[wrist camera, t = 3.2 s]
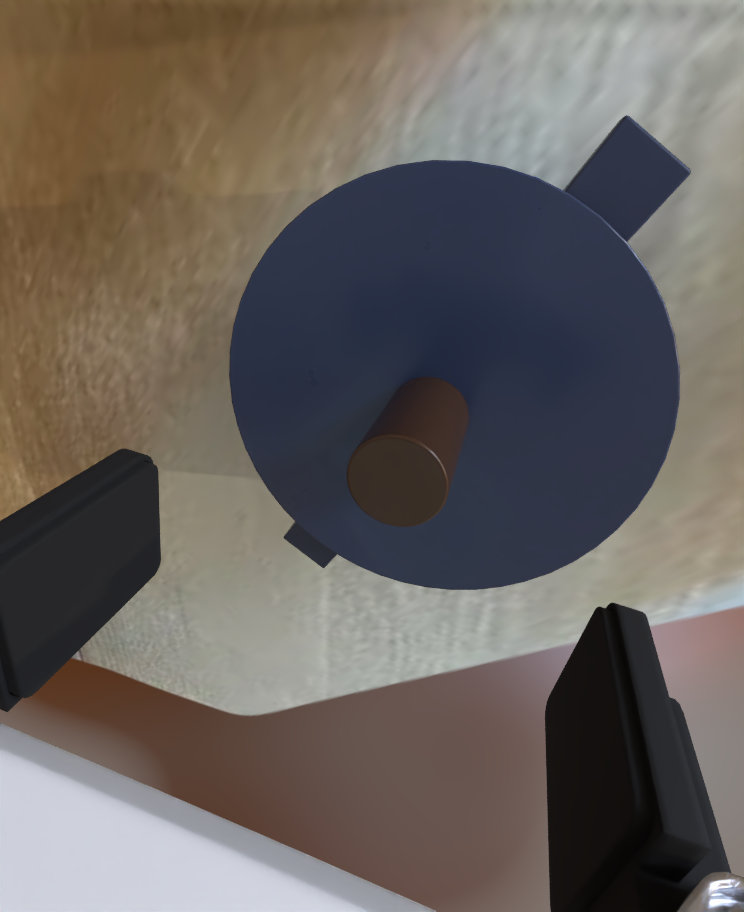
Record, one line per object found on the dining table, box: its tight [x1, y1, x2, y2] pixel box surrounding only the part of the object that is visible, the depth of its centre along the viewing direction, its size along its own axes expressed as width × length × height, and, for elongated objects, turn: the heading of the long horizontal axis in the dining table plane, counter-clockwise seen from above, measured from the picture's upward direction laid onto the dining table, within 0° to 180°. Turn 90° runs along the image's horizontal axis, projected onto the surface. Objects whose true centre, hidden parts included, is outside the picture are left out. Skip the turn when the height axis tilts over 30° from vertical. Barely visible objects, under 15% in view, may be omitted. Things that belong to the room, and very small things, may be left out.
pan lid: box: [229, 160, 680, 590], centre depth 16 cm, size 15×15×6 cm
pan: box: [284, 115, 691, 568], centre depth 21 cm, size 14×20×6 cm
